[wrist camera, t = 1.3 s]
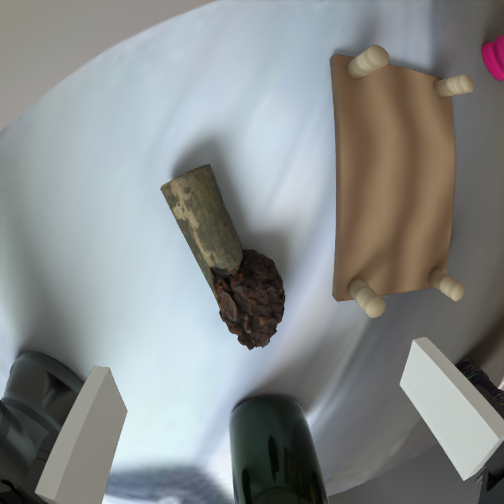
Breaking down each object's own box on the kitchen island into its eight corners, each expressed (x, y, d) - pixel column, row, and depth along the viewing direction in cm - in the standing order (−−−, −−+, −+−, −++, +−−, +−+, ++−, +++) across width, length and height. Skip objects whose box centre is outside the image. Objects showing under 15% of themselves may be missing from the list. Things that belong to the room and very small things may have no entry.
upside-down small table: (332, 295, 31) (355, 325, 25) (329, 58, 23) (355, 35, 17) (436, 281, 32) (467, 302, 26) (441, 83, 24) (477, 75, 18)
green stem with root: (164, 185, 26) (149, 189, 21) (230, 156, 26) (231, 152, 21) (236, 335, 31) (239, 367, 26) (293, 313, 31) (306, 341, 26)
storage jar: (466, 350, 37) (527, 412, 20) (478, 369, 39) (529, 422, 22) (426, 392, 39) (477, 463, 21) (443, 405, 41) (487, 465, 24)
